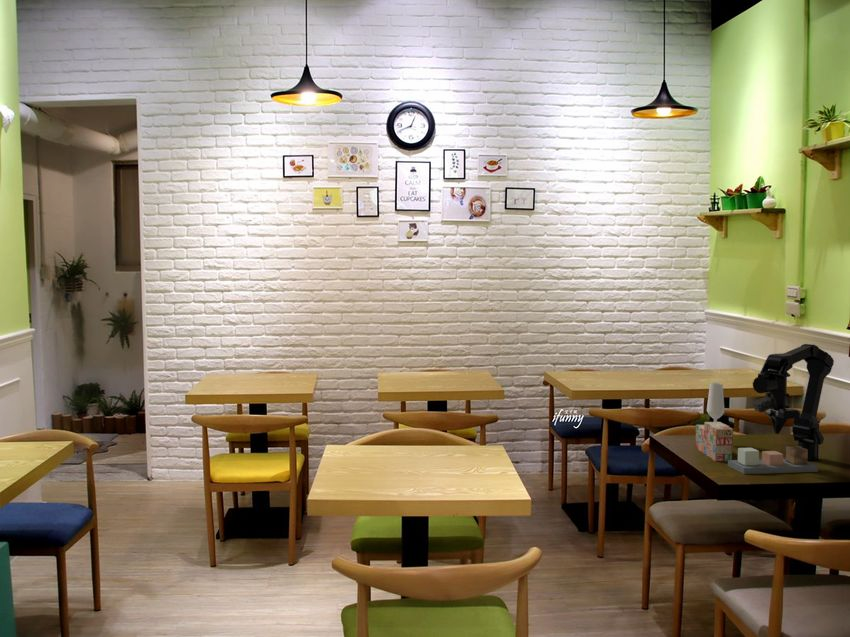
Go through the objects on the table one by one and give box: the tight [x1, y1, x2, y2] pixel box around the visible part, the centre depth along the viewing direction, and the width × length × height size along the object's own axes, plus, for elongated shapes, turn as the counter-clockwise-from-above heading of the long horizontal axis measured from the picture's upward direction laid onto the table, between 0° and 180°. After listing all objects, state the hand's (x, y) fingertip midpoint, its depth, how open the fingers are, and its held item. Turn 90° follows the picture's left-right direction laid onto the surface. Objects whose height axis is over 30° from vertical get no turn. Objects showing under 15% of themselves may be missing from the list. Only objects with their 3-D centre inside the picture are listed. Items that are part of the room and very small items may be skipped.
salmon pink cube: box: [761, 450, 784, 465], centre depth 274 cm, size 5×5×5 cm
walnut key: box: [785, 445, 808, 464], centre depth 275 cm, size 5×5×5 cm
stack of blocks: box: [695, 421, 734, 462], centre depth 295 cm, size 21×6×12 cm, turn 0°
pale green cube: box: [737, 447, 760, 466], centre depth 273 cm, size 5×5×5 cm
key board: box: [727, 458, 819, 475], centre depth 275 cm, size 27×11×2 cm, turn 96°
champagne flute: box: [706, 382, 726, 422], centre depth 313 cm, size 7×7×24 cm
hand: (777, 433), depth 278 cm, fingers closed
